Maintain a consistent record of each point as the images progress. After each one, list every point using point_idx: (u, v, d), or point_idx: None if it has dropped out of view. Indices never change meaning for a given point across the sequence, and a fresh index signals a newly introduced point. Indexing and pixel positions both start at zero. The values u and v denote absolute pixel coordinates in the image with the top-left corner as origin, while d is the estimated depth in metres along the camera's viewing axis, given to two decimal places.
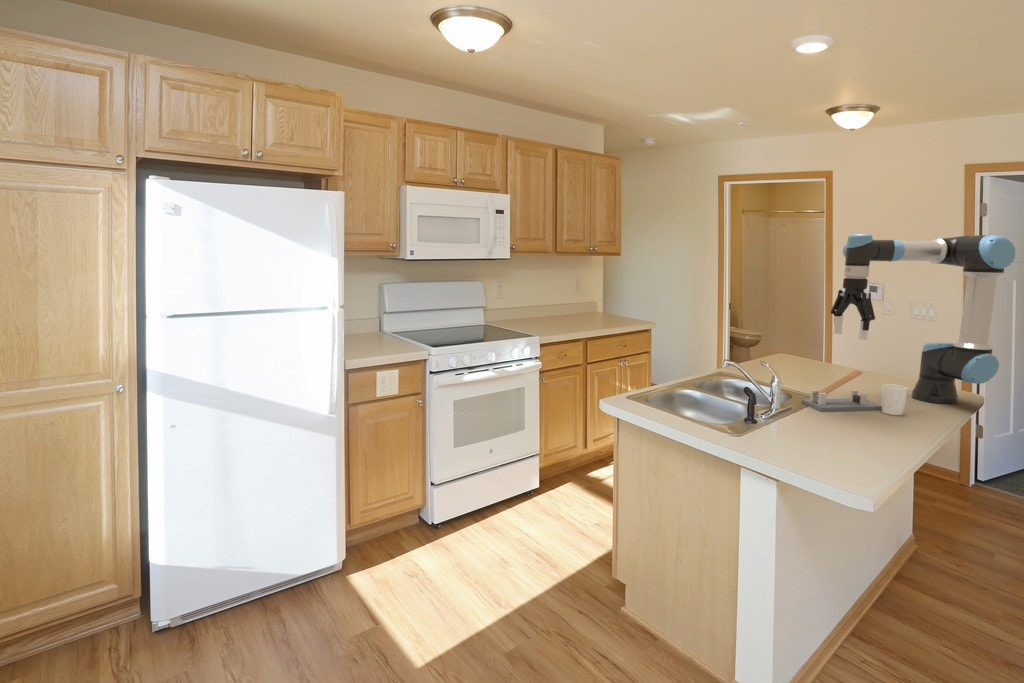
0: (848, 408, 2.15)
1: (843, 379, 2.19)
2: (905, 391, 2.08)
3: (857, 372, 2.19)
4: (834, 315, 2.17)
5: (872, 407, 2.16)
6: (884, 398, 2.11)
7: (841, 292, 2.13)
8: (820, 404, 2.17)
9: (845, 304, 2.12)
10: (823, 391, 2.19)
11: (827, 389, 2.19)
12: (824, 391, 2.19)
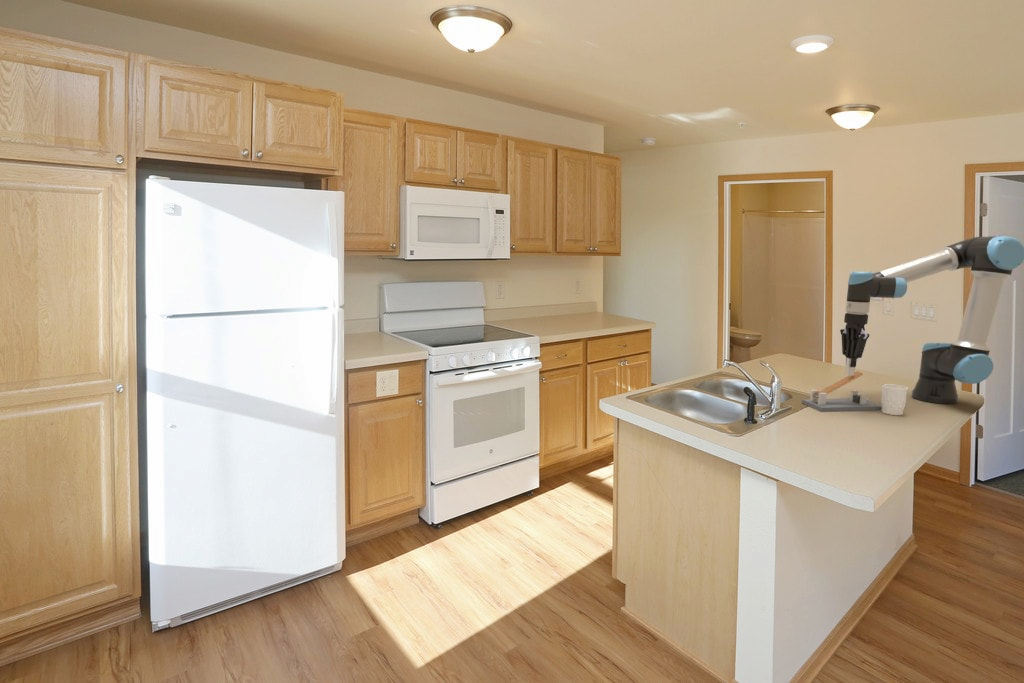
0: (848, 408, 2.15)
1: (843, 380, 2.19)
2: (905, 391, 2.08)
3: (858, 373, 2.19)
4: (846, 356, 2.19)
5: (872, 407, 2.16)
6: (884, 398, 2.11)
7: (843, 330, 2.21)
8: (820, 404, 2.17)
9: (851, 340, 2.18)
10: (823, 391, 2.19)
11: (827, 389, 2.19)
12: (824, 391, 2.19)
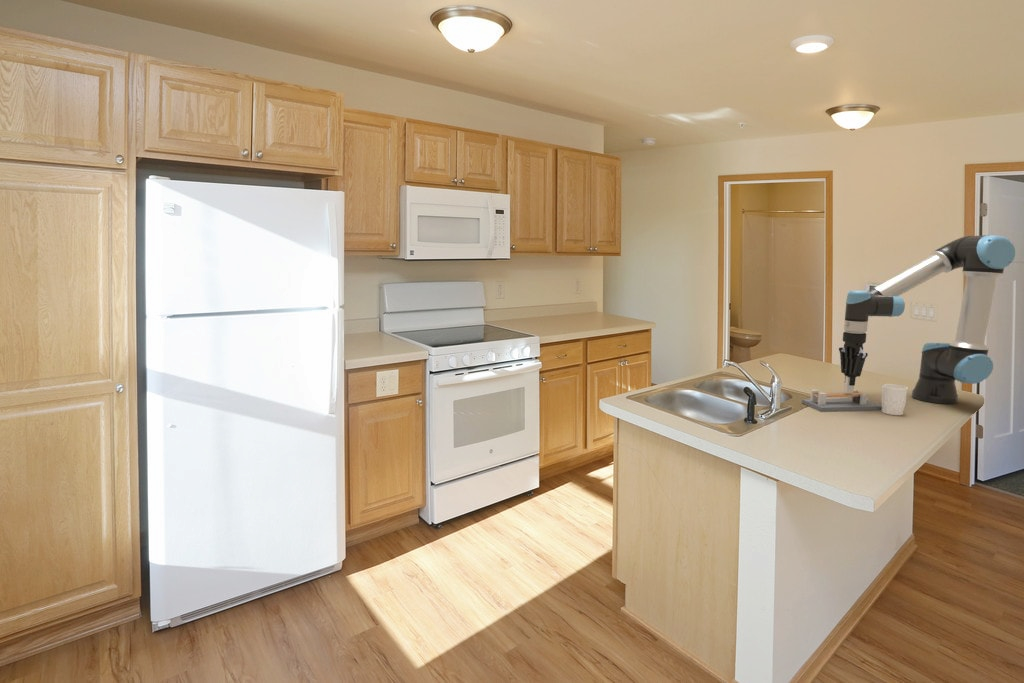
0: (848, 408, 2.15)
1: None
2: (905, 391, 2.08)
3: (861, 393, 2.20)
4: (845, 375, 2.20)
5: (872, 407, 2.16)
6: (884, 398, 2.11)
7: (841, 349, 2.23)
8: (820, 404, 2.17)
9: (849, 359, 2.19)
10: None
11: (828, 394, 2.19)
12: None
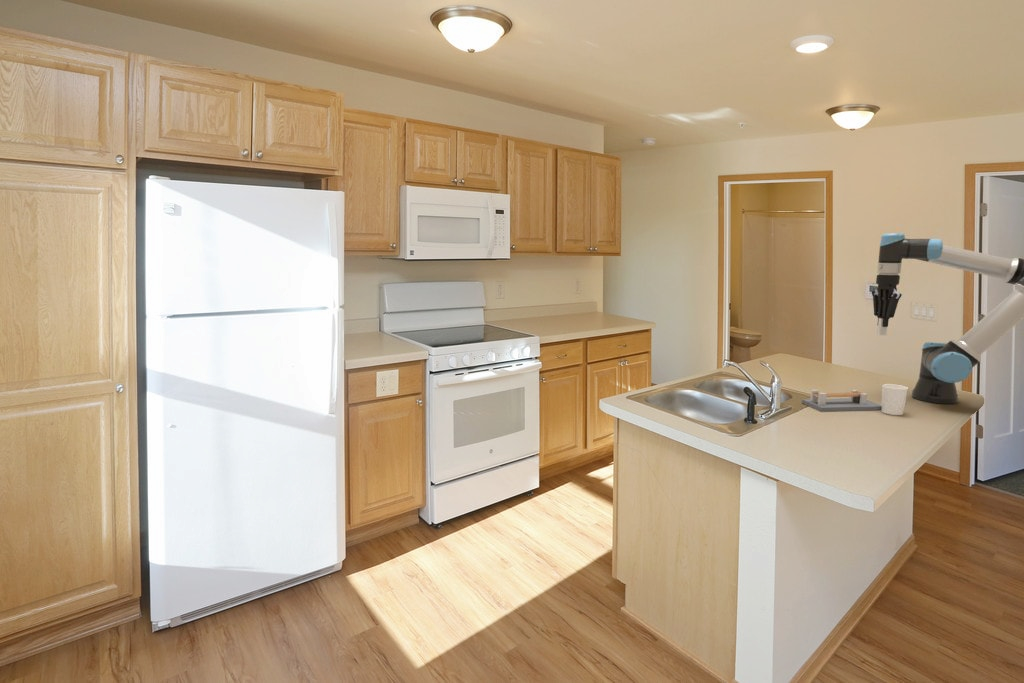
0: (848, 408, 2.15)
1: (846, 393, 2.20)
2: (905, 391, 2.08)
3: (861, 393, 2.20)
4: (878, 317, 2.26)
5: (872, 407, 2.16)
6: (884, 398, 2.11)
7: (874, 292, 2.28)
8: (820, 404, 2.17)
9: (883, 301, 2.24)
10: None
11: (828, 394, 2.19)
12: None
